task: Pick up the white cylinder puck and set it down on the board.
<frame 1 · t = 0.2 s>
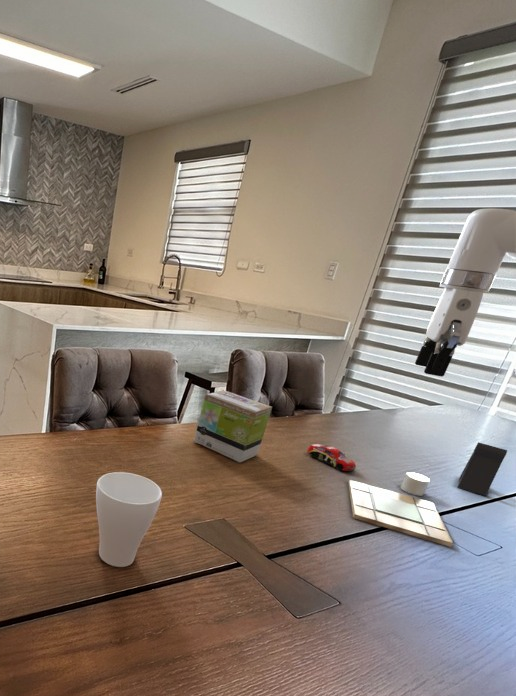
hand: (428, 370, 95), 33 cm above the table, tool pointing down, fingers open, 9 cm apart
phone stand: (471, 487, 127), on the table
cup: (116, 557, 81), on the table
board: (394, 511, 108), on the table
white cylinder puck: (411, 490, 120), on the table
tea box: (224, 449, 131), on the table
race car: (329, 463, 131), on the table
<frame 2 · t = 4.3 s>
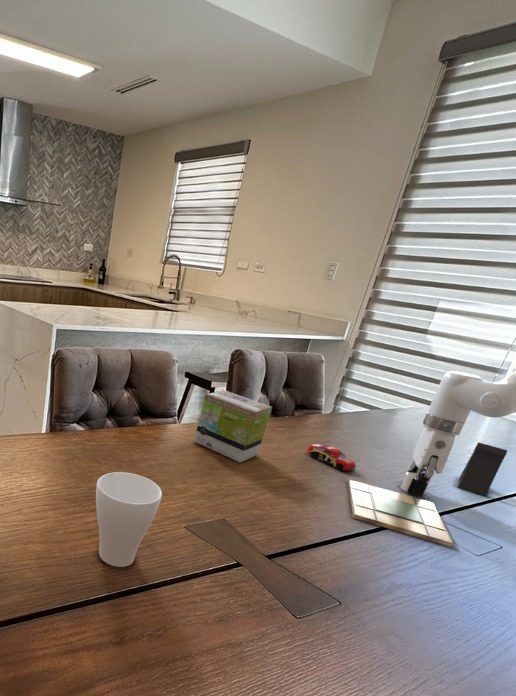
hand: (412, 489, 120), 0 cm above the table, tool pointing down, fingers closed on white cylinder puck, 5 cm apart
white cylinder puck: (411, 490, 120), on the table, touching gripper
everything else where it was.
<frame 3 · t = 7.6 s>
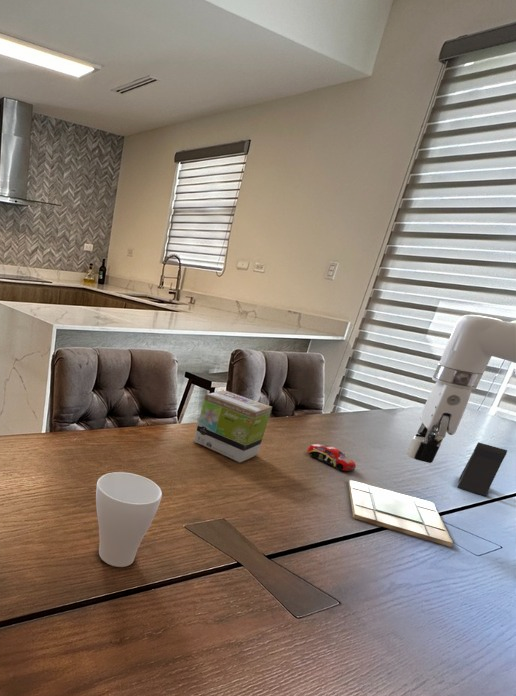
hand: (420, 455, 104), 14 cm above the table, tool pointing down, fingers closed on white cylinder puck, 5 cm apart
white cylinder puck: (419, 457, 104), point 13 cm above the table, touching gripper
everything else where it was.
when the fingers open (2 cm above the table, at t = 10.8 s): white cylinder puck stays where it is, resting on board.
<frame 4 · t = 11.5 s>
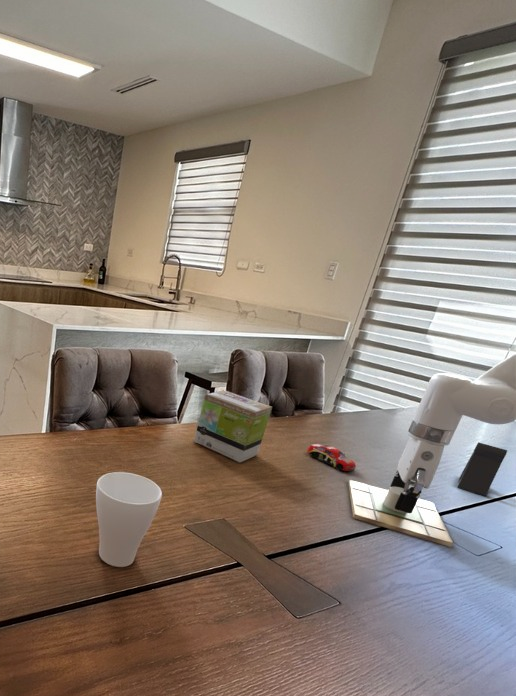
hand: (399, 501, 107), 3 cm above the table, tool pointing down, fingers open, 9 cm apart
white cylinder puck: (395, 507, 107), point 1 cm above the table, touching board
everything else where it was.
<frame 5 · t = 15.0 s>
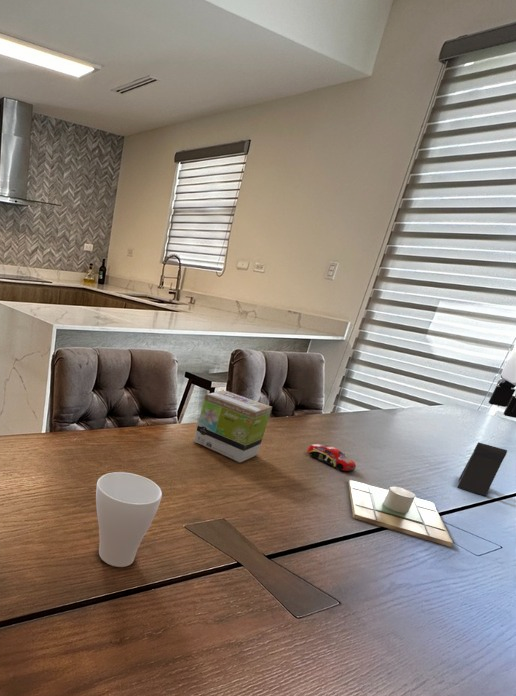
hand: (504, 410, 98), 26 cm above the table, tool pointing down, fingers open, 9 cm apart
nothing on the table moved.
at the end: white cylinder puck 0.1 cm off-centre on the board, point 1.2 cm above the board's base; white cylinder puck tilted 0°; the gripper is holding nothing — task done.
